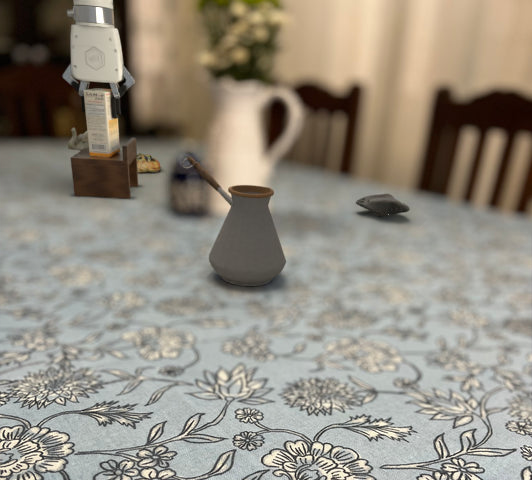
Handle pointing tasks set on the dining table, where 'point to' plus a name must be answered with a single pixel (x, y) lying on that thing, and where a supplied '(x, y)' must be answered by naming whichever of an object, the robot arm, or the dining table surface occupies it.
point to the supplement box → (101, 123)
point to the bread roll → (147, 163)
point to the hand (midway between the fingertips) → (102, 116)
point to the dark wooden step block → (105, 173)
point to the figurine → (78, 141)
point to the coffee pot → (245, 235)
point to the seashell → (382, 205)
